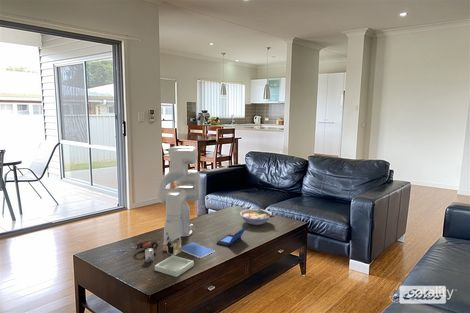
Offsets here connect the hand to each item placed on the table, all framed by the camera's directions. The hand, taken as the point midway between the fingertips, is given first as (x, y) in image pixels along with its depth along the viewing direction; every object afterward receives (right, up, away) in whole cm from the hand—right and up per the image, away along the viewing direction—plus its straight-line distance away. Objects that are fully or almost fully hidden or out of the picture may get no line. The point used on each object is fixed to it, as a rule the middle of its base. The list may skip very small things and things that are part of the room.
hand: (174, 251), depth 169 cm
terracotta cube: (-8, -6, +24) cm, 26 cm away
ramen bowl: (+46, 0, +69) cm, 83 cm away
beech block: (0, -1, 0) cm, 1 cm away
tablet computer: (+9, -7, +23) cm, 25 cm away
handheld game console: (+29, -5, +35) cm, 46 cm away
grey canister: (-15, -8, +10) cm, 19 cm away
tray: (0, -9, +1) cm, 9 cm away
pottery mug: (-19, -7, +19) cm, 28 cm away
